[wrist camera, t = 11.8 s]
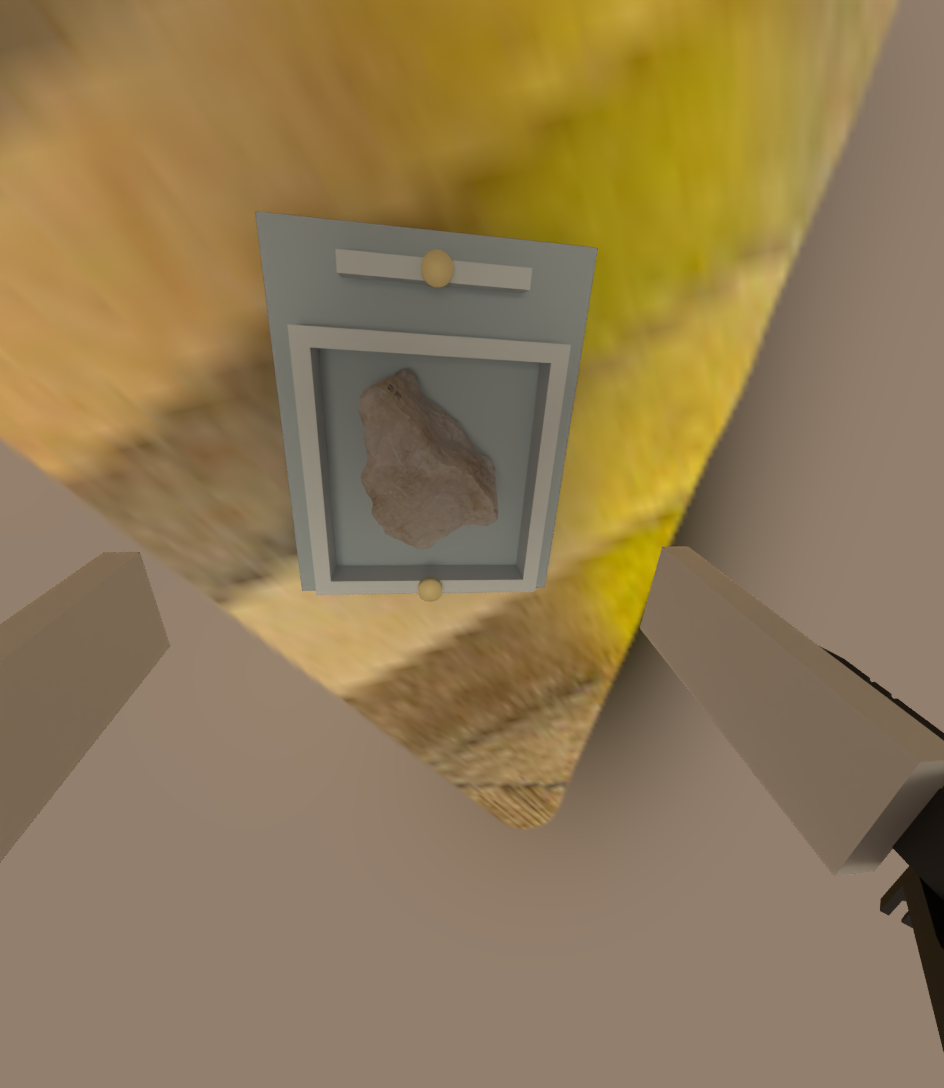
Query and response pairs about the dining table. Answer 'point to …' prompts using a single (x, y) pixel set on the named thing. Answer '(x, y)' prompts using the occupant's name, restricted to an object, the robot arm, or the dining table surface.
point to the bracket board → (422, 388)
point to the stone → (421, 465)
